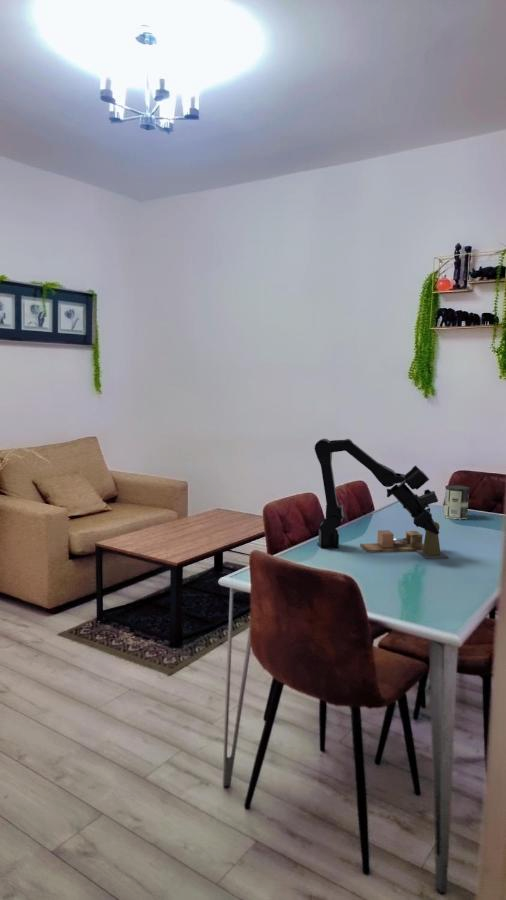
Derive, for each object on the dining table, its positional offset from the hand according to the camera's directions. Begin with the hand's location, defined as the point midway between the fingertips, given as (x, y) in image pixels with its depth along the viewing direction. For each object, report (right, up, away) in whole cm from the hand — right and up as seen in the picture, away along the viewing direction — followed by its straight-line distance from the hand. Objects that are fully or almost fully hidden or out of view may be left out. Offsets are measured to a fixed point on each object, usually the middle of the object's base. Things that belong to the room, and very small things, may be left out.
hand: (437, 531), depth 207 cm
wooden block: (-14, -6, +8) cm, 17 cm away
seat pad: (-2, -9, +1) cm, 9 cm away
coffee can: (+27, -2, +61) cm, 67 cm away
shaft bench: (-13, -8, +9) cm, 17 cm away
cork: (-2, -8, +1) cm, 8 cm away
